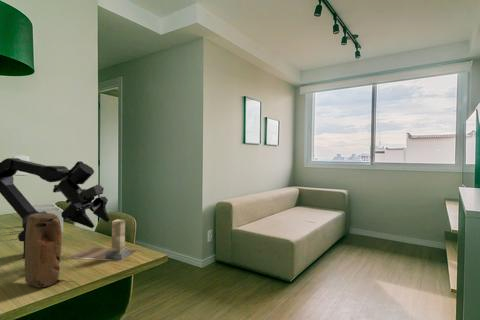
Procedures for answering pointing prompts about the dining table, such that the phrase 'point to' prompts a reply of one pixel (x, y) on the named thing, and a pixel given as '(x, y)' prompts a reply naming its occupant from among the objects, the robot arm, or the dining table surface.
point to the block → (42, 249)
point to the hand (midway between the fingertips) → (101, 224)
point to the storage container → (50, 211)
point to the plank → (97, 254)
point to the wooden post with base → (118, 241)
